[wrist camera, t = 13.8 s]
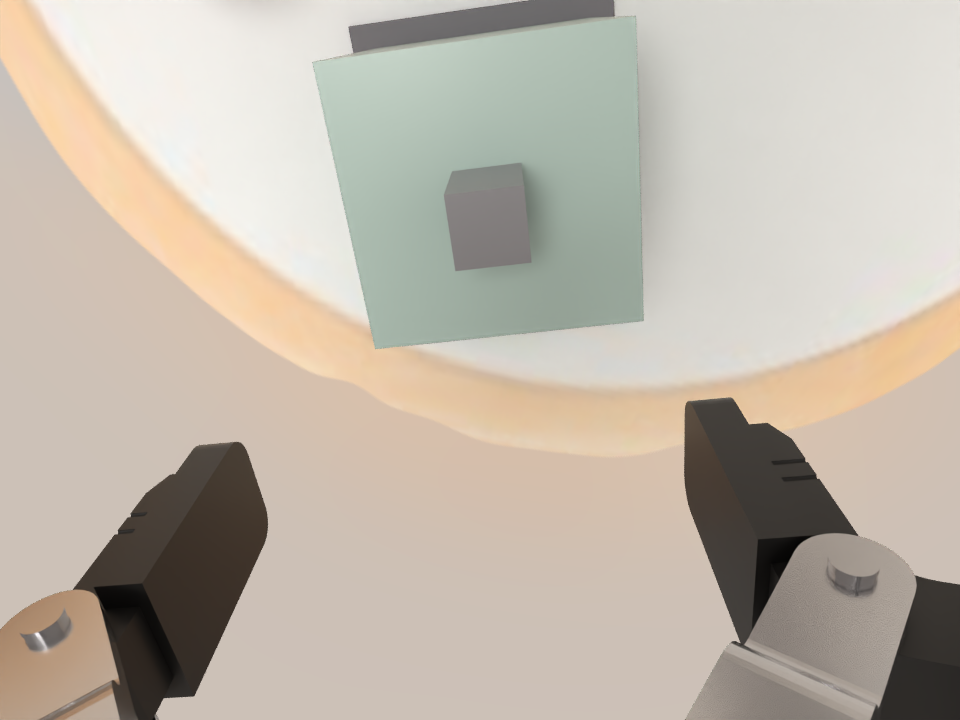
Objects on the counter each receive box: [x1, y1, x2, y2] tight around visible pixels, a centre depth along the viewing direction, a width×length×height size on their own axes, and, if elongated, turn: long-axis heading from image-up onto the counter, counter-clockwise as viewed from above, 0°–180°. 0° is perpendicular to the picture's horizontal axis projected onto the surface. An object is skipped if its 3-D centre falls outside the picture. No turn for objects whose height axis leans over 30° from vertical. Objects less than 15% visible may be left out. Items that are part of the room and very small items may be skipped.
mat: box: [349, 0, 614, 53], centre depth 44 cm, size 16×16×1 cm
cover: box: [312, 16, 644, 349], centre depth 35 cm, size 13×13×20 cm
